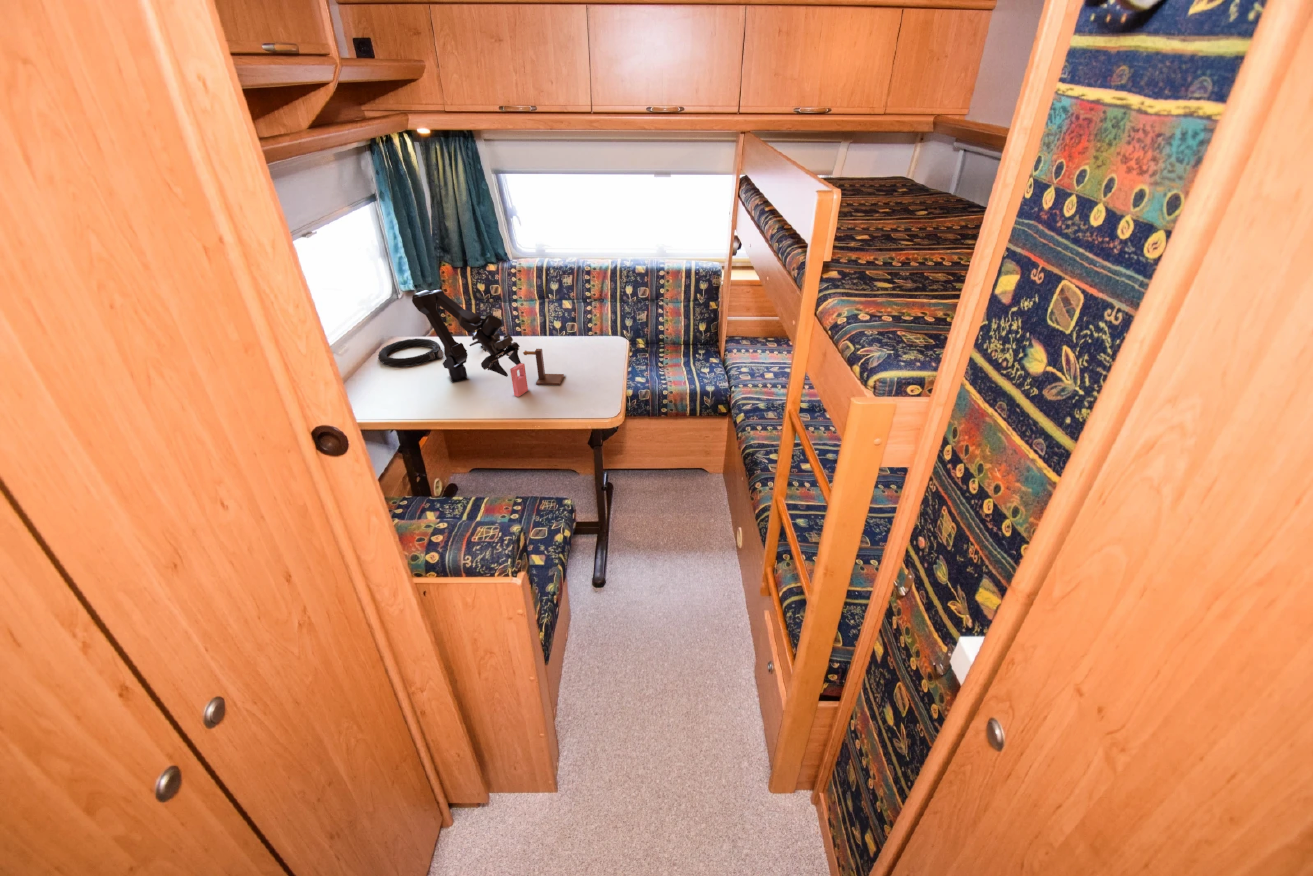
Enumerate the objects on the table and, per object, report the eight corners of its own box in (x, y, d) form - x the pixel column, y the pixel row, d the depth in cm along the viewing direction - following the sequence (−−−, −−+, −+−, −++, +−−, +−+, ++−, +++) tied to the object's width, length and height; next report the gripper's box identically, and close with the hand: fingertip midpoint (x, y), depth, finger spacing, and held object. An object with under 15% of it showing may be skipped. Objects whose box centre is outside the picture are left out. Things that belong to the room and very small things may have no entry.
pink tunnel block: (514, 395, 237) (510, 368, 231) (523, 389, 242) (520, 362, 236) (518, 396, 237) (514, 369, 230) (528, 390, 241) (524, 363, 235)
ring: (399, 335, 286) (455, 339, 281) (401, 342, 288) (456, 346, 283) (364, 357, 263) (424, 362, 258) (366, 365, 265) (426, 370, 260)
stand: (524, 384, 246) (519, 353, 239) (529, 375, 254) (525, 345, 247) (559, 385, 245) (556, 354, 238) (564, 376, 253) (560, 345, 246)
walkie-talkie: (503, 335, 289) (480, 347, 272) (497, 343, 292) (473, 355, 275) (495, 326, 288) (471, 337, 271) (488, 334, 291) (464, 345, 274)
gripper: (481, 338, 222) (509, 370, 223) (512, 322, 236) (538, 352, 237) (469, 354, 229) (496, 384, 230) (500, 338, 243) (525, 367, 244)
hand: (514, 371), depth 235 cm, fingers open, 9 cm apart
